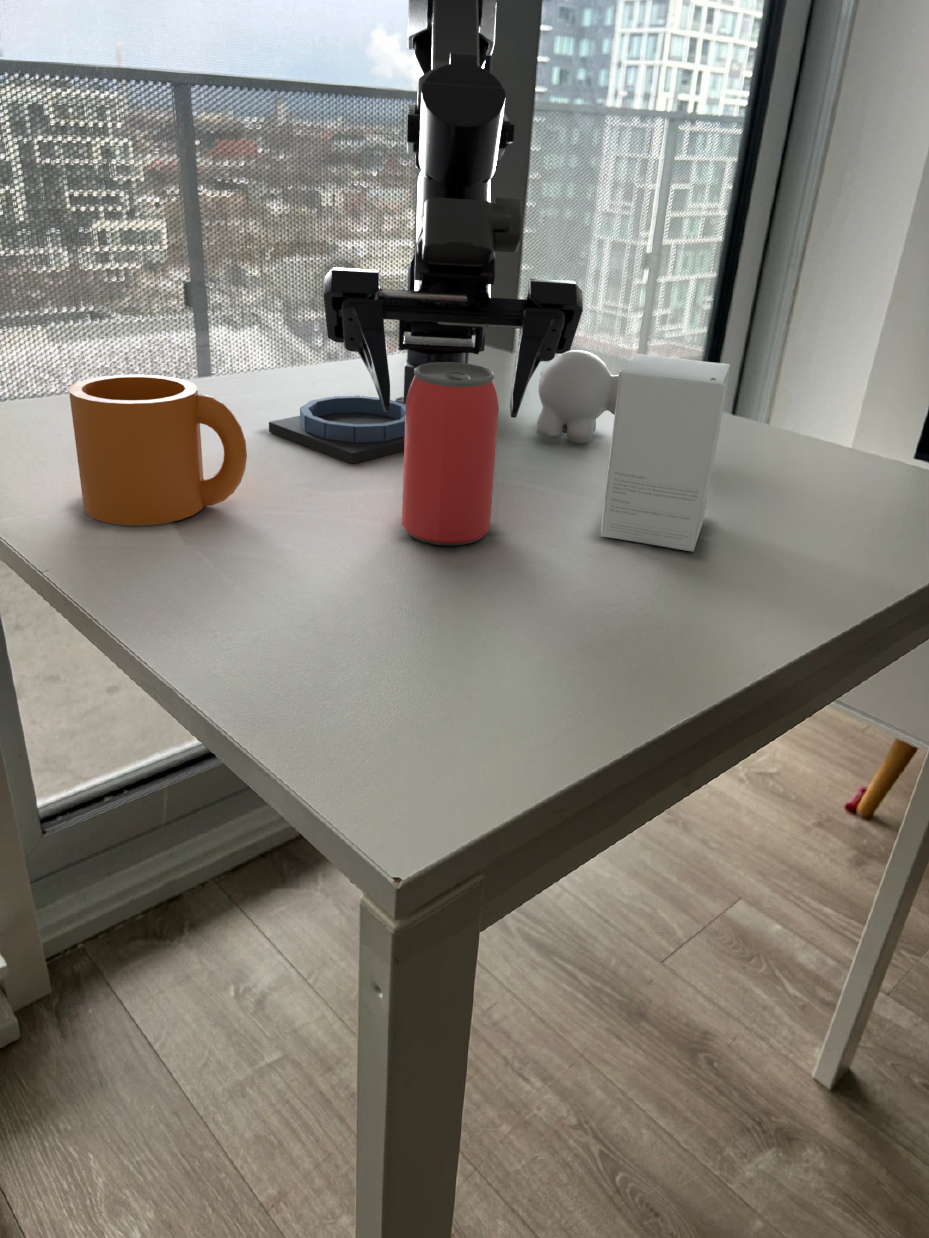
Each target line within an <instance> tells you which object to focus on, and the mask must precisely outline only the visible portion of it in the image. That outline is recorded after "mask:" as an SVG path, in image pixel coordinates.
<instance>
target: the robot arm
mask: <svg viewBox="0 0 929 1238" xmlns="http://www.w3.org/2000/svg"><path fill="white" fill-rule="evenodd" d="M497 3H498V2H497V0H408V13H407V14H408V15H407V16H408V18H407V50H411V51H414V60H413V61H414V62H413V63H414V64H413V75H414V78H415V79H416V81H417V101H416V102H417V104H408V105H407V106H408V107H407V125H406V126H407V129H406V130H407V131H406V139H407V140H406V153H407V154H412V155H413V154H415V164H414V165H415V168H416V169H417V170H420V172H419V175H418V177H417V195H416V197H417V198H416V200H417V201H416V229H415V233H416V234H415V235H416V236H415V238H416V239H415V248H414V249H415V253H414V255H413V258H412V259H411V261H410V264H409V266H408V267H407V287H406V288H405V287H401V288H400V289H390V288H381V274H380V273H381V272H380V271H381V270H380V269H366V268H352V267H351V268H350V267H332V269H330V270H329V272H327V274H325V276H324V281H323V282H324V283H323V305H324V314H325V322H326V323H325V324H326V330H327V331H326V333H327V334H326V335H327V339H329V340H331V341H333V342H334V343H343V346H344V349H345V350H346V351H349V352H354V353H357V354H358V355H359V357H360V359H361V361H362V362H363V364H364V366H365V367H366V370H367V371H368V373H369V375H370V377H371V380H372V382H373V385H374V387H375V390H376V393H377V396H378V398H379V399H380V401H381V404H382V407H383V410H384V412H389V411H390V400H391V380H390V379H391V378H390V370H389V360H388V353H387V350H388V349H387V341H386V332H385V320H392V321H398V322H399V323H398V325H399V326H398V351H405V350H406V363H405V364H404V370H403V371H404V372H403V373H404V374H403V375H404V376H403V396H401V397H397V398H394V401H396V402H399V403H402V404H405V405H406V399H407V395H408V391H409V388H410V385H411V383H412V381H413V378H414V376H415V374H414V369H415V368H416V367H418V366H419V365H422V364H427V363H435V362H455V363H466V364H469V354H473V355H479V354H480V353H481V352H484V351H485V347H486V335H487V334H486V333H487V328H500V329H515V330H516V329H518V330H519V331H518V335H519V336H518V338H519V340H518V344H517V348H516V353H515V359H514V366H513V367H514V369H513V374H512V376H513V377H512V383H511V391H510V398H509V410H510V418H512V419H513V418H514V419H516V418H517V417H518V413H519V411H520V408H521V405H522V402H523V399H524V397H525V394H526V391H527V388H528V385H529V383H530V381H531V379H532V377H533V376H534V374H535V372H536V370H537V368H538V366H539V365H540V363H542V362H550V361H551V360H552V359H553V358H555V357H556V354H557V355H559V354H562V353H565V352H567V351H571V348H572V345H573V342H574V339H575V336H576V333H577V330H578V327H579V323H580V320H581V317H582V314H583V311H584V307H583V305H584V302H583V301H584V300H583V290H582V289H581V288H580V286H578V284H577V283H576V282H575V281H574V280H560V279H542V278H528V281H527V284H526V289H525V293H524V297H523V298H509V297H508V298H505V297H491V296H492V295H491V287H492V286H493V285H495V279H496V252H497V253H498V252H499V253H517V251H518V249H519V246H520V243H521V239H522V222H523V221H522V220H523V219H522V218H523V216H522V213H523V211H522V199H521V198H511V197H495V199H494V202H492V201H491V179H492V178H493V176H494V174H495V172H496V166H497V161H498V160H501V159H502V157H503V155H504V153H505V151H506V149H507V147H508V146H509V145H510V144H512V143H514V138H515V124H512V123H511V122H510V120H509V118H508V116H507V114H506V113H505V104H506V89H504V87H503V85H502V83H501V82H500V80H499V79H498V78H497V77H496V76H495V75H494V74H493V73H491V71H489V70H488V69H485V64H486V61H487V60H486V59H487V56H490V57H491V56H492V54H493V51H494V48H495V44H496V25H497V24H496V22H497V7H498V5H497ZM405 333H410V335H405ZM470 336H471V338H470Z"/></svg>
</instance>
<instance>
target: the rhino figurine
mask: <svg viewBox="0 0 929 1238" xmlns="http://www.w3.org/2000/svg"><path fill="white" fill-rule="evenodd" d="M539 375H540V379H539V381H538V395H539V400H540V403H541V405H542V407H541V410H540V412H539V415H538V417H537V421H536V429H535V430H536V433H537V435H538V436H540V437H544V438H557V437H561V436H562V434H563V433H564V434H565V436H566V439H567V440H568V441H570V442H572V443H575V444H587V443H590V442H591V441H593V436H594V433H595V431H596V427H597V419H598V418H599V417H600V416H602V414H603V413H604V412H606V411H608V412H610V413H611V414H612V415H614V416H615V409H616V400H617V391H618V378H619V373H618V374H612V373H611V372H610V370H609V369H608V366H607V365H606V363H605V362H604V361H603V360H602V359H601V358H600V357H598V356H597V355H595V354H594V353H592V352H590V351H587V350H581V349H574V350H569V351H567V352H565V353H562V354H557V355H555V356H554V358H553V359H552V360H550V361H548V363H546V365H545V366H544V367H543V368H542V369H541V371H540V373H539Z"/></svg>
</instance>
